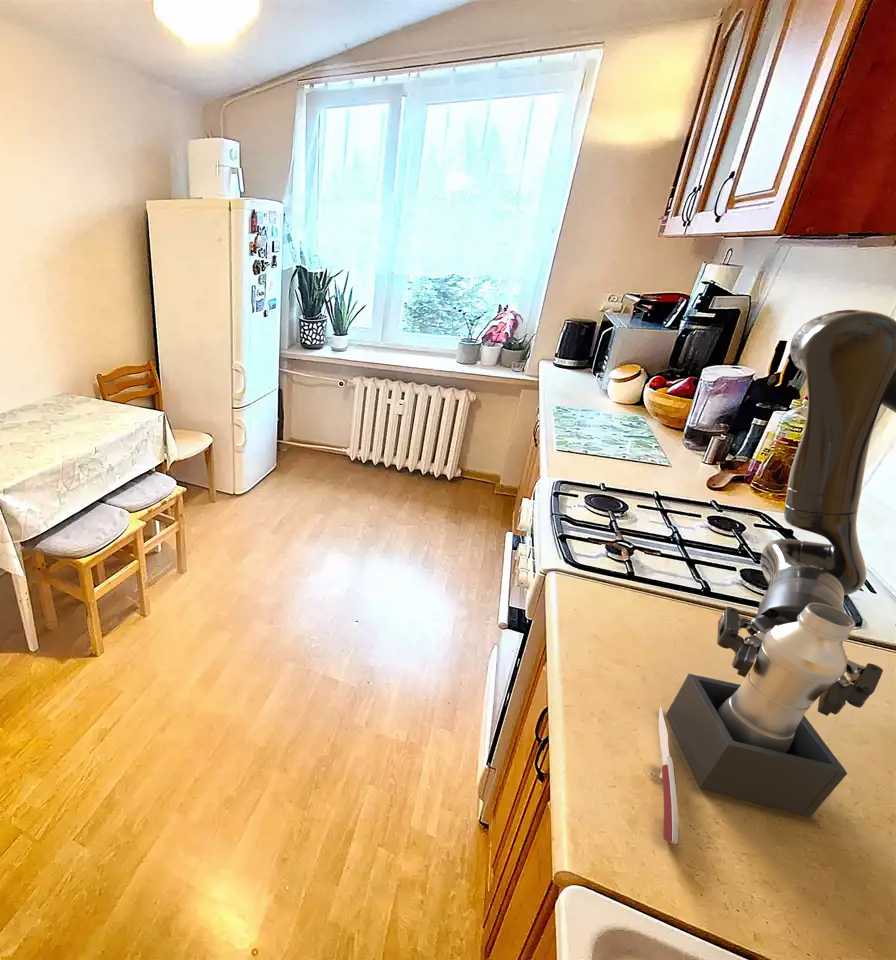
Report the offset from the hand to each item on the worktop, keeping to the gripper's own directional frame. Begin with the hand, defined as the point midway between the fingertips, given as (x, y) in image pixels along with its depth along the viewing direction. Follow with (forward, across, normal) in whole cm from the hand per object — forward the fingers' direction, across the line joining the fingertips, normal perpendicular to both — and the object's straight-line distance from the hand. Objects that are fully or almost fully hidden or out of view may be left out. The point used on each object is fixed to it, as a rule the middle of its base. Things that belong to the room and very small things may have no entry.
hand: (784, 688), depth 56 cm
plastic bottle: (-2, 0, +11) cm, 11 cm away
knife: (+6, -5, +15) cm, 17 cm away
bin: (-2, 0, +14) cm, 15 cm away
